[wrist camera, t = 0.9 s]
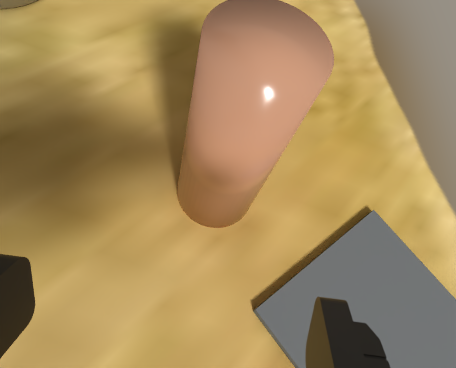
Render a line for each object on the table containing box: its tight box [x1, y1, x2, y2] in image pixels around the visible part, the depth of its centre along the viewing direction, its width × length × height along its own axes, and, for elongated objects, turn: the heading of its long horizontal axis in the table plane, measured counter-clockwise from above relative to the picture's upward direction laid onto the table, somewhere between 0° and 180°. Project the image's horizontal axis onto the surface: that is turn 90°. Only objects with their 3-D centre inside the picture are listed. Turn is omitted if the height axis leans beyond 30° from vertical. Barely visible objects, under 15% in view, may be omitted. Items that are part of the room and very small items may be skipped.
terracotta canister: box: [177, 0, 334, 228], centre depth 21 cm, size 5×5×14 cm
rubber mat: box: [254, 210, 456, 368], centre depth 25 cm, size 12×12×1 cm
